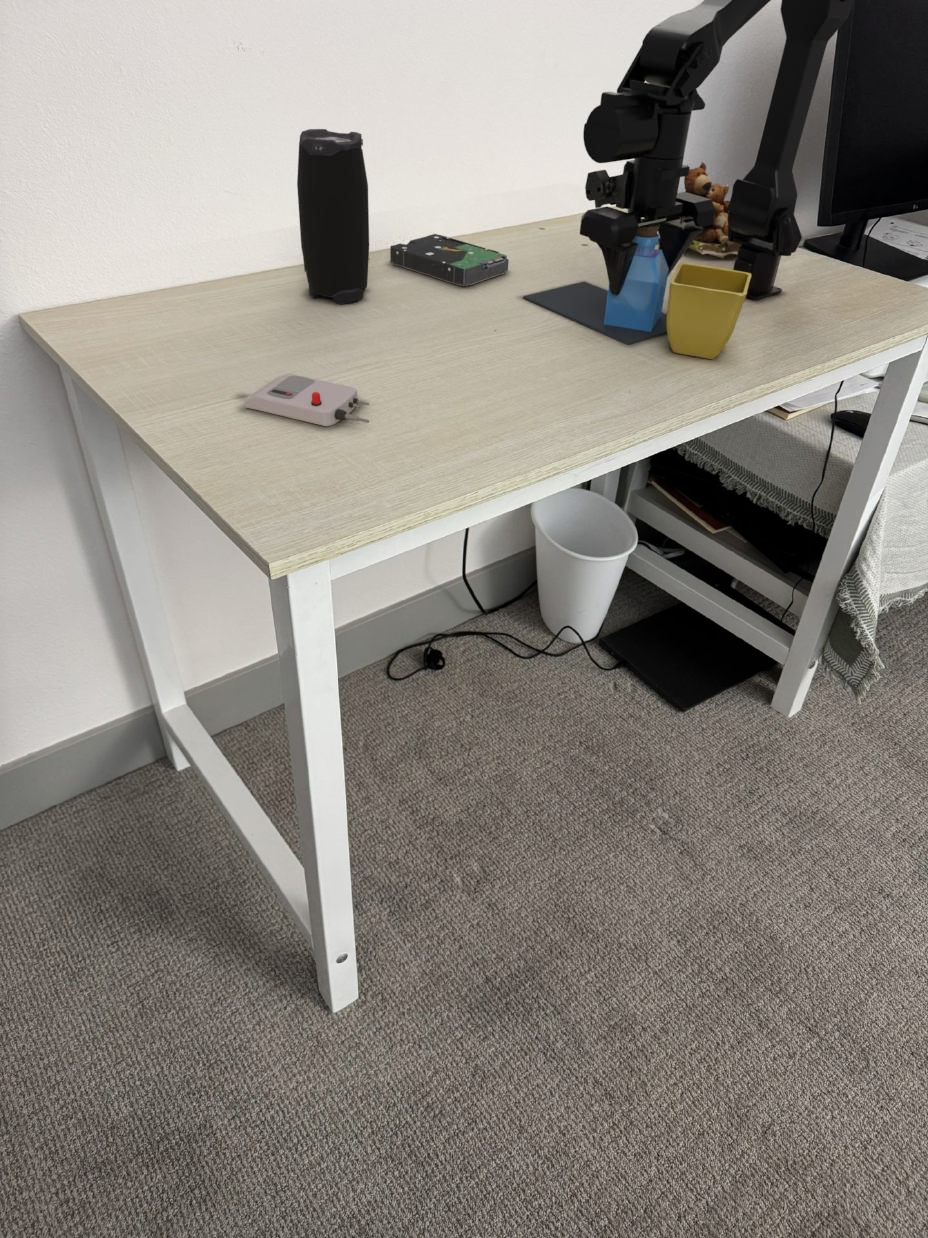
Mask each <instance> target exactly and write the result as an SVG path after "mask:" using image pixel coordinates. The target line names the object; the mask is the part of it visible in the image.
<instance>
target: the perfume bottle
mask: <svg viewBox="0 0 928 1238" xmlns="http://www.w3.org/2000/svg"><path fill="white" fill-rule="evenodd" d="M659 226H660V224H653V225H649V226H645V227H641V228H638V232H637V235H636V237H635V238H634V240H633V241H632V242H635V243H637V244H638V247H637V250H636V252H635V255H634V258H633V260H632V263H631V266H630V269H629V271H628V274H627V277H626V279H625V282H624V285H623V287H622V289H621V291H620V294H619V295H614V294H612V293H611V290H610V285H609V284H608V288H607V291H608V296H607V304H606V312H605V320H604V324H606V325H612V326H617V327H623V328H629V329H635V330H641V331H647V332H651V331H652V329H653V328H654V326H655V324H656V323H657V321H658V320H659V318H660V317H661V312H662V311H663V307H664V300H665V294H666V289H667V281H668V277H669V276H668V271H669V268H668V265H667V263H666V260H665V257H664V254H663V252H662V250H659V248H658V249H657V248H656V246H659V242H660V238H659V234H658V229H659ZM662 313H663V312H662Z"/></svg>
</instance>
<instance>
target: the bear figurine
mask: <svg viewBox="0 0 928 1238" xmlns="http://www.w3.org/2000/svg"><path fill="white" fill-rule="evenodd" d="M686 166H689V164H686ZM706 169H707V165H706V164H705V163H704V161H701V163H700V165H699V166H698V167H694V168H691V167H690V168H689V173H688V176H684V178H683V185H684V192H687V193H690V194H694V195H697V196H701V197H704V198H708V199H711V200H712V202H713V205H714V207H715V213H714V218H713V223H712V224H711V225H707V226H702V227H701V228H703V231H702V233H700V234H698V235H697V237H696V238H695V239H694V241H693V242H692V243H691V245H690V246H689V247H688V249H691V250H693V251H695V252H698V253H699V254H701V255H705V254H707V255H711V256H714V257H717V258H720V259H723V260H724V259H725V257H727V256H730V255H737V253H738V249H739V247H740V246H741V244H738V243H735V242H729V241H728V211H727V207H728V205H729V203H730V200H725V199H726V196H727V195H728V193H729V189H730V186H729V184H726V185H722V184H721V183H714V184H713V183H712V182H713V181H712V180H711V178H710V177H709V174H708V173H707V172H706ZM657 234H659V232H657ZM659 239H660V235H659Z"/></svg>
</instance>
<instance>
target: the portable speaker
mask: <svg viewBox="0 0 928 1238" xmlns="http://www.w3.org/2000/svg"><path fill="white" fill-rule="evenodd" d="M362 137H363V135H362V133H360V132H357V131H350V132H349V133H348V132H347V133H346V132H345V133H344V132H335V131H330V130H328V129H326V128H309V129H306V130H303V131H301V133H300V135H299V141H298V158H297V177H296V178H297V179H296V180H297V181H296V186H297V187H296V188H297V199H298V200H297V201H298V202H297V203H298V204H297V205H298V216H299V217H298V218H299V231H300V249H301V252H302V253H301V254H302V259H303V268H304V273H305V274H306V275H305V276H306V279H307V285H308V295H309V296H310V297H311V298H312V299H315V298H318V296H322V297H328V298H331V299H332V300H333V301H334V302H335V303H336V304H338V305H345V304H351V303H355V302H357V301H361V300H362V299H363V297H364V293H365V291H366V290H367V288H368V277H369V261H370V220H369V219H370V215H369V210H370V209H369V183H368V177H367V171H366V164H365V158H364V152H363V151H364V150H363V147H364V138H362ZM362 146H363V147H362Z"/></svg>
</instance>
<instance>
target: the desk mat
mask: <svg viewBox="0 0 928 1238" xmlns="http://www.w3.org/2000/svg"><path fill="white" fill-rule="evenodd" d="M607 296H608V289H604V288H602V287H599V286H598V285H597V286H596V285H594V284H592V283H590V282H588V281H580V282H576V283H571V284H568V285H563V286H559V287H556V288H551V289H547V290H542V291H539V292H535V293H530V294H527V295H523V296H522V299H524V300H526V301H528V302H530V303H533V304H535V305H536V306H537V305H538V306H539V307H542V308H544V309H547V311H551V312H553V313H555V314H558V315H560V316H562V317H565V318H566V319H568V320H571V321H573V322H576V323H579V324H580V325H583V326H584V327H587V328H589V329H591V330H594V331H596V332H598V333H601V334H603V335H605V336H608V337H609V338H612V339H614V340H616V341H619V342H621V343H623V344H625V345H628V346H629V345H632V344H636V343H639V342H642V341H646V340H649V339H652V338H656V337H659V336H662V335H666V334H667V313H664V312H661V317H660V318H659V320H658V321H657V323H656V324H655V326H654V328H653V329H652V331H651V332H647V331H641V330H635V329H629V328H623V327H617V326H612V325H606V324H604V320H605V312H606V304H607Z"/></svg>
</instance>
